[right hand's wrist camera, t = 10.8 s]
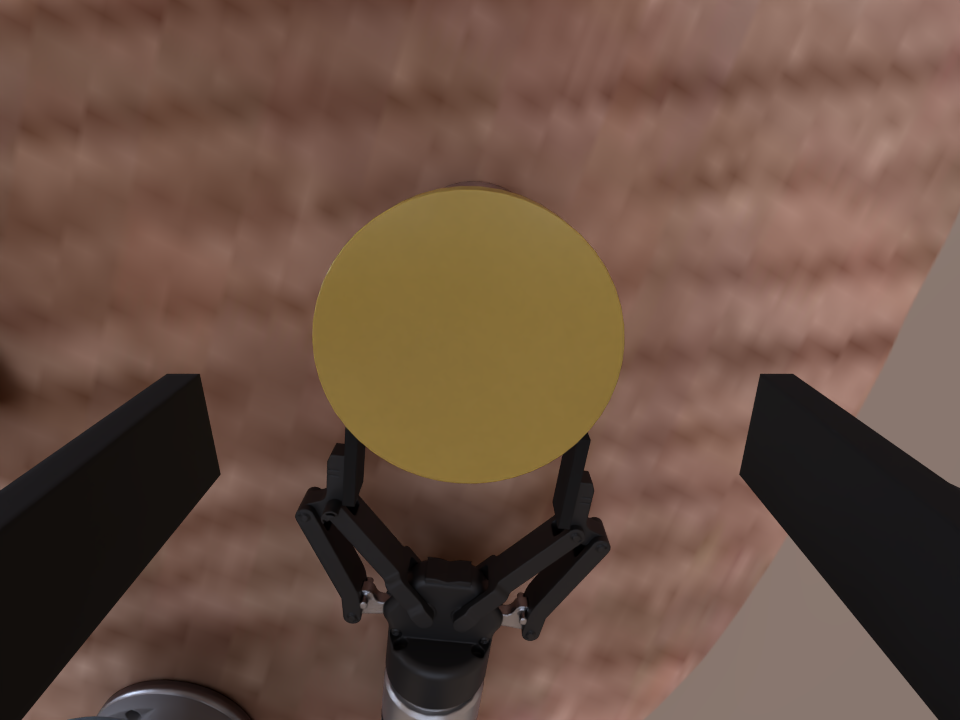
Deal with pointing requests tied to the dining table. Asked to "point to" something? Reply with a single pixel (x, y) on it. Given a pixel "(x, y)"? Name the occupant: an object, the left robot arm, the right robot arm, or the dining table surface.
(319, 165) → the dining table surface
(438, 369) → the lid
